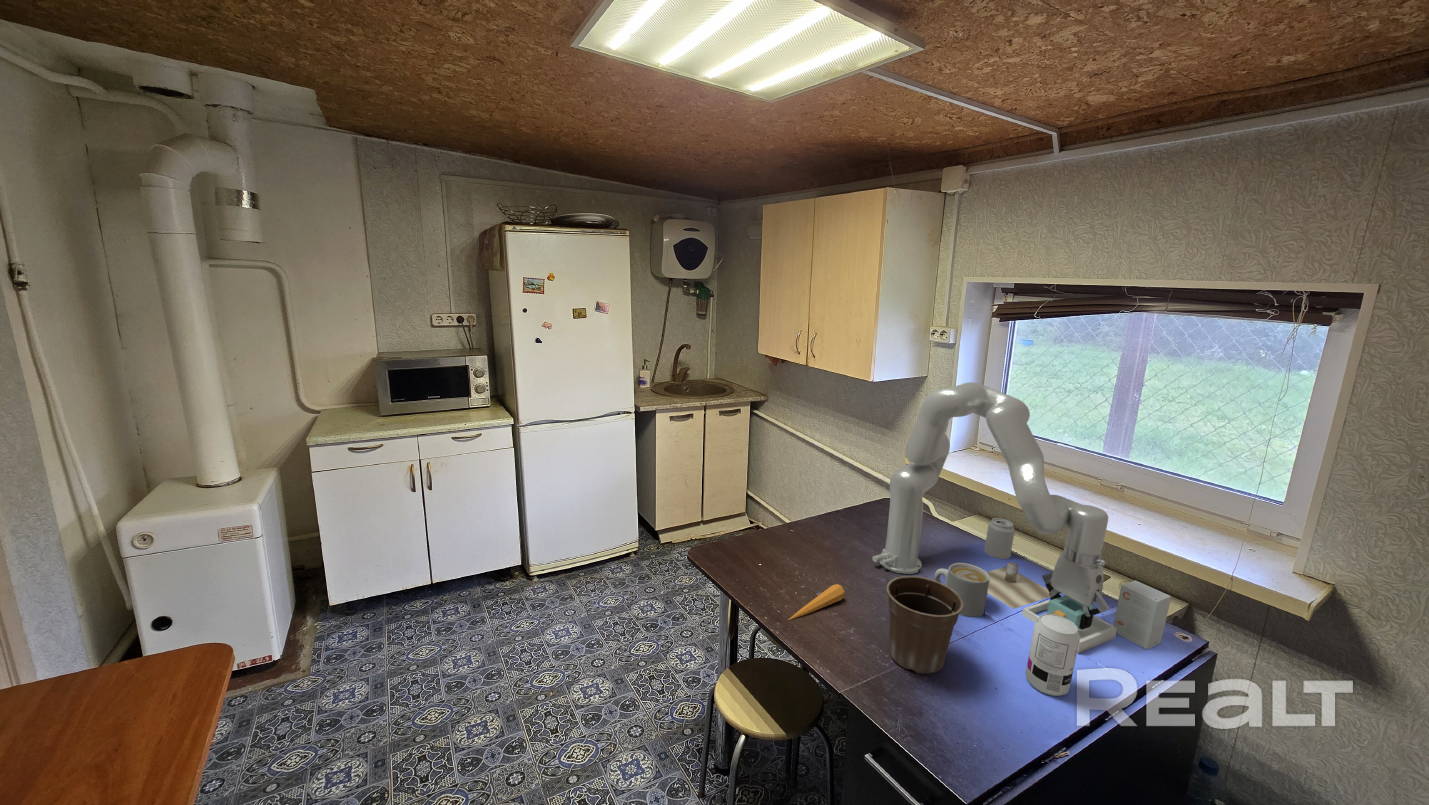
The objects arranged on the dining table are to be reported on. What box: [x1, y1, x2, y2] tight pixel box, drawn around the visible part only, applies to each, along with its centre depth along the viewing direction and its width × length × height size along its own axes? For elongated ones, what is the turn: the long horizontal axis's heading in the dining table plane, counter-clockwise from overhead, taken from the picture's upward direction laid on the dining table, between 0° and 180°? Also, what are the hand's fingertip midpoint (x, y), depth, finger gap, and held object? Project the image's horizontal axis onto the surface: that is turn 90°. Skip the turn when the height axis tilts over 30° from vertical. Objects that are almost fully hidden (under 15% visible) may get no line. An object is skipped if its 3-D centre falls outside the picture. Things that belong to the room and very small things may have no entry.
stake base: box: [986, 561, 1051, 610], centre depth 155 cm, size 18×16×6 cm
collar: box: [1046, 595, 1093, 629], centre depth 137 cm, size 7×8×4 cm
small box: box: [1112, 580, 1172, 650], centre depth 135 cm, size 8×6×13 cm
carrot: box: [786, 583, 846, 621], centre depth 143 cm, size 20×4×4 cm, turn 125°
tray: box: [1021, 599, 1117, 655], centre depth 138 cm, size 15×15×3 cm
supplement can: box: [1025, 613, 1080, 697], centre depth 117 cm, size 8×8×15 cm
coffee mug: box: [933, 562, 990, 618], centre depth 147 cm, size 13×10×10 cm
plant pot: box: [886, 575, 963, 675], centre depth 125 cm, size 16×16×16 cm
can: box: [983, 517, 1016, 560], centre depth 173 cm, size 8×8×12 cm
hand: (1068, 618), depth 138 cm, fingers closed on collar, 7 cm apart
